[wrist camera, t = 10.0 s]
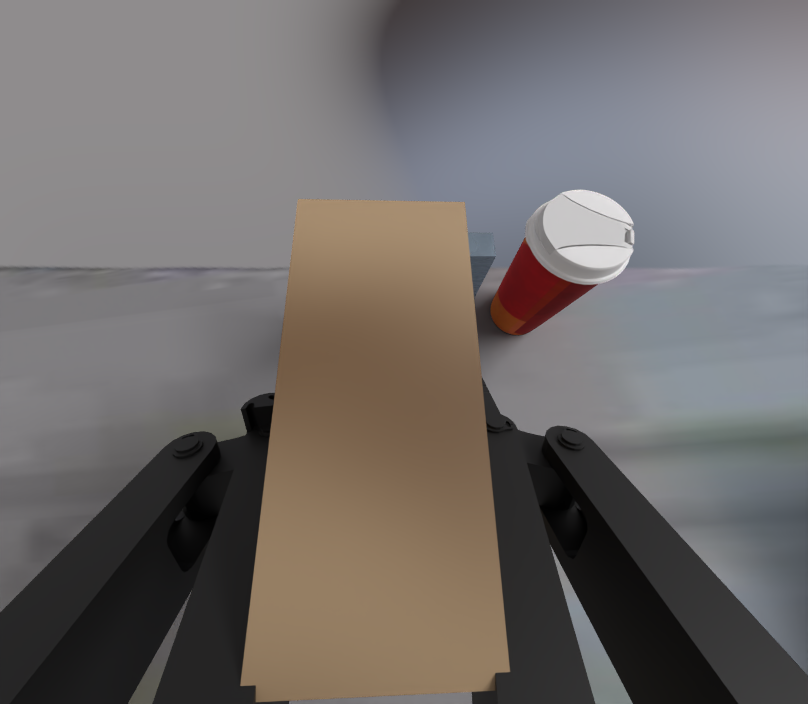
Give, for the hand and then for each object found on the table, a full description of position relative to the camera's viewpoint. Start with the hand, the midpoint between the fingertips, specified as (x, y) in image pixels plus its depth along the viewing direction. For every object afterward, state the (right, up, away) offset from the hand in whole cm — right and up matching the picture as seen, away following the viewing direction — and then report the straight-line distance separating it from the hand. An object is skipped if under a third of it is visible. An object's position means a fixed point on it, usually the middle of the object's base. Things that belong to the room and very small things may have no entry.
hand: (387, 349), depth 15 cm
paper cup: (+13, +4, +20) cm, 24 cm away
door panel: (0, -5, +3) cm, 6 cm away
